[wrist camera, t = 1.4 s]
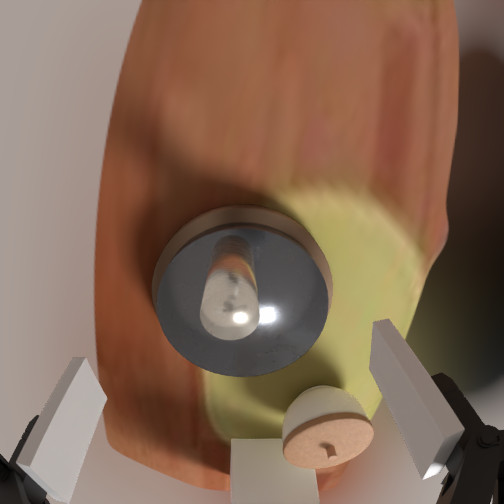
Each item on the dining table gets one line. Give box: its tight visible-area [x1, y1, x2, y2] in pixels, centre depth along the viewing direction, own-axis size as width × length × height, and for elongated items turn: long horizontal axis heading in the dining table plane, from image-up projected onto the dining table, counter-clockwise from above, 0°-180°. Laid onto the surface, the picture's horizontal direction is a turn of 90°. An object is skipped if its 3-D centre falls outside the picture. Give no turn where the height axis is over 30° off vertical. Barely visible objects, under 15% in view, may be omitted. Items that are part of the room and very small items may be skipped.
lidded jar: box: [282, 385, 374, 469], centre depth 33 cm, size 11×11×9 cm
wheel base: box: [152, 204, 333, 320], centre depth 30 cm, size 17×17×2 cm
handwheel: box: [157, 222, 329, 377], centre depth 24 cm, size 15×15×11 cm
